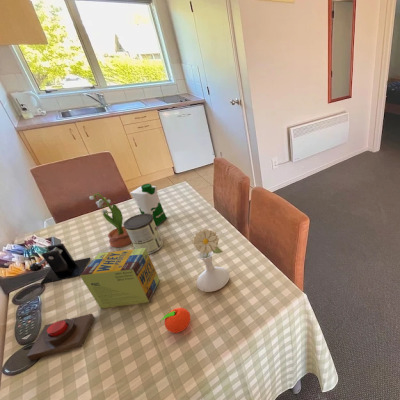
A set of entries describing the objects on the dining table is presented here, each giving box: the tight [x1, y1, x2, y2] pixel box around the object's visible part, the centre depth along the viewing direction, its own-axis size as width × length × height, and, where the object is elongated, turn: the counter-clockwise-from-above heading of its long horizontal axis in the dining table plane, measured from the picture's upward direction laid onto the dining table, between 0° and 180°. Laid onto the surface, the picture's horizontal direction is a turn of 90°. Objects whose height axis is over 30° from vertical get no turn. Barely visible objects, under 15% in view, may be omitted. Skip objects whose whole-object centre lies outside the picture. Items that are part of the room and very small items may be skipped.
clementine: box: [159, 307, 191, 334], centre depth 80 cm, size 8×7×7 cm
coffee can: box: [122, 213, 164, 255], centre depth 111 cm, size 10×10×14 cm
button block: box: [26, 313, 96, 361], centre depth 78 cm, size 12×10×4 cm
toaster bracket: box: [40, 243, 91, 285], centre depth 99 cm, size 12×10×12 cm
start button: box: [47, 320, 68, 337], centre depth 77 cm, size 4×4×2 cm
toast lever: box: [28, 247, 63, 272], centre depth 97 cm, size 12×3×3 cm
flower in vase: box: [192, 228, 231, 293], centre depth 91 cm, size 13×11×25 cm
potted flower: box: [89, 191, 133, 248], centre depth 112 cm, size 12×10×25 cm
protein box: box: [79, 248, 161, 309], centre depth 89 cm, size 10×15×16 cm
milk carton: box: [129, 183, 168, 227], centre depth 127 cm, size 9×9×20 cm
